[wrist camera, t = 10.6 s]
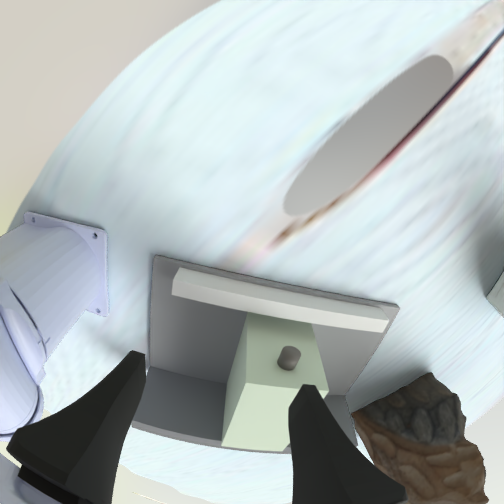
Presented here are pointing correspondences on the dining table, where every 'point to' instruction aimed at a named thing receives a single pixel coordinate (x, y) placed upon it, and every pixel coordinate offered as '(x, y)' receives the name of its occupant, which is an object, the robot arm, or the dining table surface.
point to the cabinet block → (269, 381)
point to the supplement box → (498, 296)
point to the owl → (424, 444)
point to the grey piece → (227, 339)
